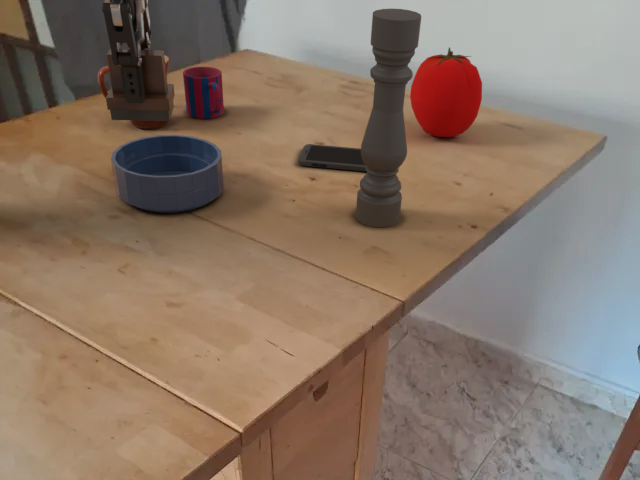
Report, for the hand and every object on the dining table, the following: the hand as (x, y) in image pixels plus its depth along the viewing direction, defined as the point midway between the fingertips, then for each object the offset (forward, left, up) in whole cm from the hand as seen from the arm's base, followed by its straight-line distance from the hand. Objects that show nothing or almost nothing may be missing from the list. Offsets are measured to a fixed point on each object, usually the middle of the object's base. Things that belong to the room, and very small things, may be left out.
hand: (139, 92), depth 79 cm
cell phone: (+10, +35, -17) cm, 40 cm away
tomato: (+19, +55, -18) cm, 60 cm away
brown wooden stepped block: (0, 0, -2) cm, 2 cm away
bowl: (-6, +11, -17) cm, 21 cm away
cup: (-20, +40, -18) cm, 48 cm away
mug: (-27, +30, -18) cm, 44 cm away
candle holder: (+23, +20, -18) cm, 35 cm away
